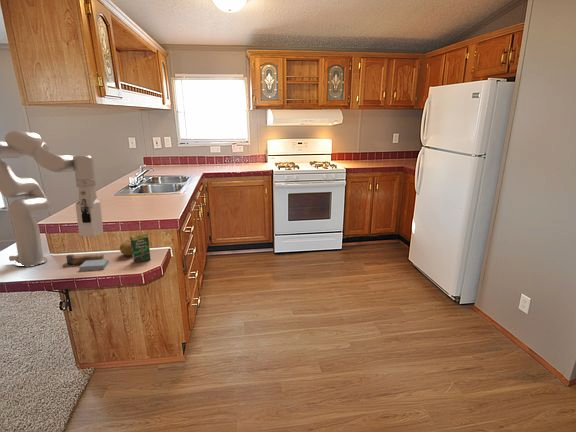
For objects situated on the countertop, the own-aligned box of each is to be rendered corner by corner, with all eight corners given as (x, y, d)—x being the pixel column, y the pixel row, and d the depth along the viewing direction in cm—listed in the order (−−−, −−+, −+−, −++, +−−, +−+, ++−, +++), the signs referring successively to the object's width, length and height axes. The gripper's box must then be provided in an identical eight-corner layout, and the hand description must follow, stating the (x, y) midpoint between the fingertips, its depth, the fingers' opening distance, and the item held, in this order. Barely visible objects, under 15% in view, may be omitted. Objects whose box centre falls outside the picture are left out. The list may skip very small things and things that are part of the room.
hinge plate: (60, 267, 159) (60, 266, 159) (65, 262, 165) (65, 262, 165) (76, 266, 160) (76, 265, 160) (81, 261, 167) (81, 261, 167)
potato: (114, 258, 172) (112, 243, 171) (130, 250, 186) (129, 236, 184) (132, 259, 171) (130, 244, 169) (146, 251, 185) (145, 237, 183)
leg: (66, 264, 161) (65, 256, 160) (68, 262, 164) (67, 254, 163) (102, 261, 165) (101, 254, 165) (104, 259, 168) (103, 252, 168)
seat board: (79, 271, 154) (79, 266, 154) (86, 264, 163) (85, 260, 162) (103, 269, 157) (103, 265, 156) (108, 262, 165) (108, 259, 165)
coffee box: (133, 263, 165) (131, 237, 163) (132, 261, 167) (130, 236, 165) (150, 260, 170) (148, 235, 168) (149, 258, 172) (147, 233, 170)
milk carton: (103, 233, 160) (99, 193, 156) (93, 236, 153) (89, 195, 149) (89, 232, 160) (85, 193, 157) (79, 236, 154) (74, 195, 150)
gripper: (89, 184, 145) (93, 224, 148) (100, 181, 161) (104, 216, 165) (69, 185, 143) (74, 224, 146) (83, 181, 159) (87, 217, 163)
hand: (90, 220), depth 155 cm, fingers closed on milk carton, 8 cm apart
